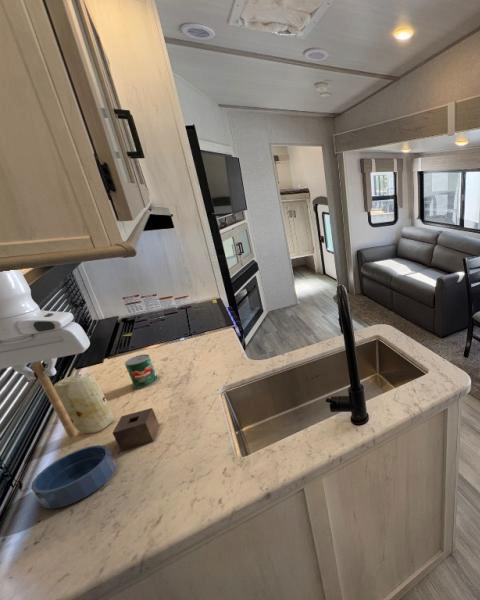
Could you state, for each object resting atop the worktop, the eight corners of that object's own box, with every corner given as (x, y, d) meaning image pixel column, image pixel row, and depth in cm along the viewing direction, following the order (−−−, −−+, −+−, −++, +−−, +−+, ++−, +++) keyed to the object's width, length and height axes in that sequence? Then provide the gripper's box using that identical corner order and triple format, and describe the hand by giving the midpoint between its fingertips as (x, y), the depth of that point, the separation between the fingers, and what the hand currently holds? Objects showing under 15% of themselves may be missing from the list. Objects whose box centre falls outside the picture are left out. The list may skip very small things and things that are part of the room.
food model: (116, 416, 108) (93, 367, 101) (116, 425, 103) (91, 375, 96) (77, 430, 102) (50, 379, 95) (75, 441, 97) (46, 389, 90)
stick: (67, 438, 80) (29, 365, 72) (70, 434, 81) (33, 362, 74) (76, 436, 80) (38, 363, 73) (78, 432, 82) (42, 360, 74)
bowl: (29, 520, 73) (16, 503, 71) (59, 474, 86) (50, 458, 83) (105, 493, 79) (96, 476, 77) (124, 453, 91) (116, 438, 89)
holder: (121, 451, 92) (112, 432, 90) (129, 433, 99) (121, 416, 97) (153, 441, 95) (145, 423, 93) (159, 424, 102) (152, 407, 100)
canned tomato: (142, 389, 122) (132, 365, 118) (129, 386, 125) (119, 363, 121) (162, 378, 129) (153, 355, 125) (149, 375, 132) (140, 353, 128)
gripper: (-65, 341, 63) (-29, 397, 68) (68, 320, 71) (91, 371, 76) (-41, 330, 68) (-10, 383, 73) (80, 311, 77) (101, 359, 81)
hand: (43, 376), depth 74 cm, fingers closed on stick, 1 cm apart
